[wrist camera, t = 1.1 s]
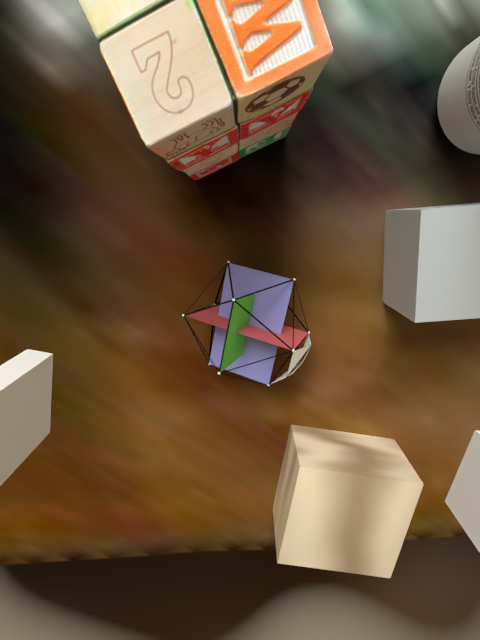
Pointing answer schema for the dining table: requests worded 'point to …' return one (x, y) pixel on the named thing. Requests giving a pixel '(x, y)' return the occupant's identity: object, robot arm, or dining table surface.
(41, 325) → the dining table surface
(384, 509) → the beech block
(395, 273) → the grey block
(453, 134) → the energy drink can
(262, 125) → the stack of blocks
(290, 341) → the geometric puzzle
